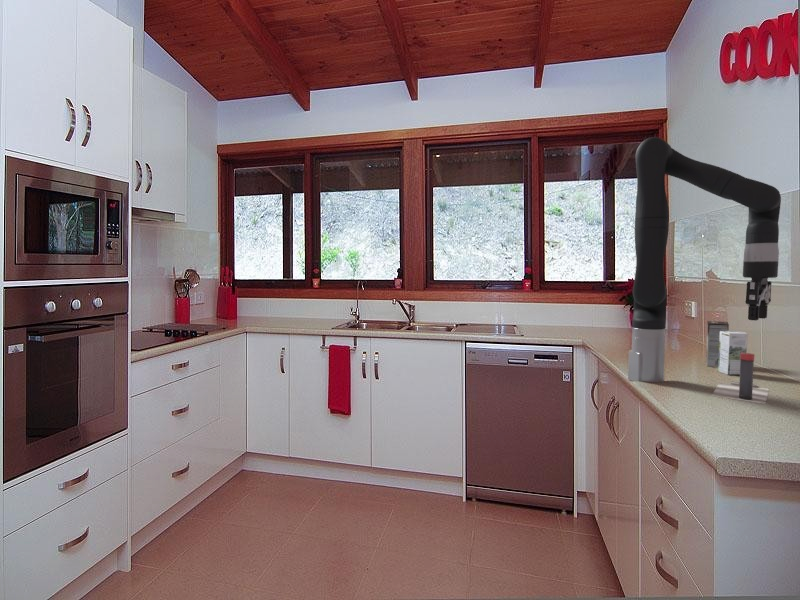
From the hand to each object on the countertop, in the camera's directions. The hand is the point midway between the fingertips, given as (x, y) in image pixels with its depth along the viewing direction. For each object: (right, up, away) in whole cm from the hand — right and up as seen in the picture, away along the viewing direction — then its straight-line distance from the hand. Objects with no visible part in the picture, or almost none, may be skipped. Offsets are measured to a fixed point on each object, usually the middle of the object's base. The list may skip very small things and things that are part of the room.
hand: (757, 319), depth 125 cm
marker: (-6, -21, -4) cm, 22 cm away
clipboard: (-3, -22, +2) cm, 22 cm away
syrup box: (+15, -20, +30) cm, 39 cm away
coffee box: (+19, -19, +44) cm, 52 cm away
